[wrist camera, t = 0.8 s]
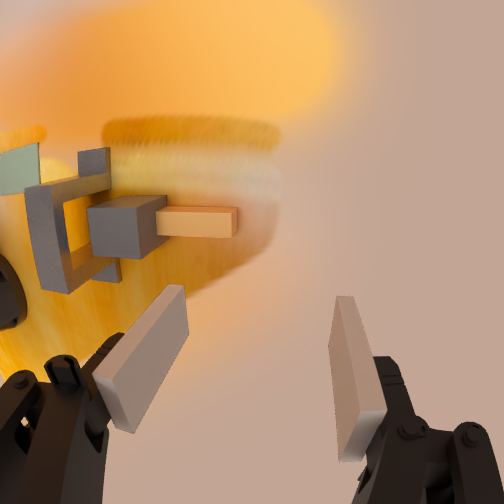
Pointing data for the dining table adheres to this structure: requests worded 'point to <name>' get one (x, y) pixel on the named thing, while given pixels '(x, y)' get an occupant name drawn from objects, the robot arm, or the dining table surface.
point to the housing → (54, 229)
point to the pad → (19, 169)
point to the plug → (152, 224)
